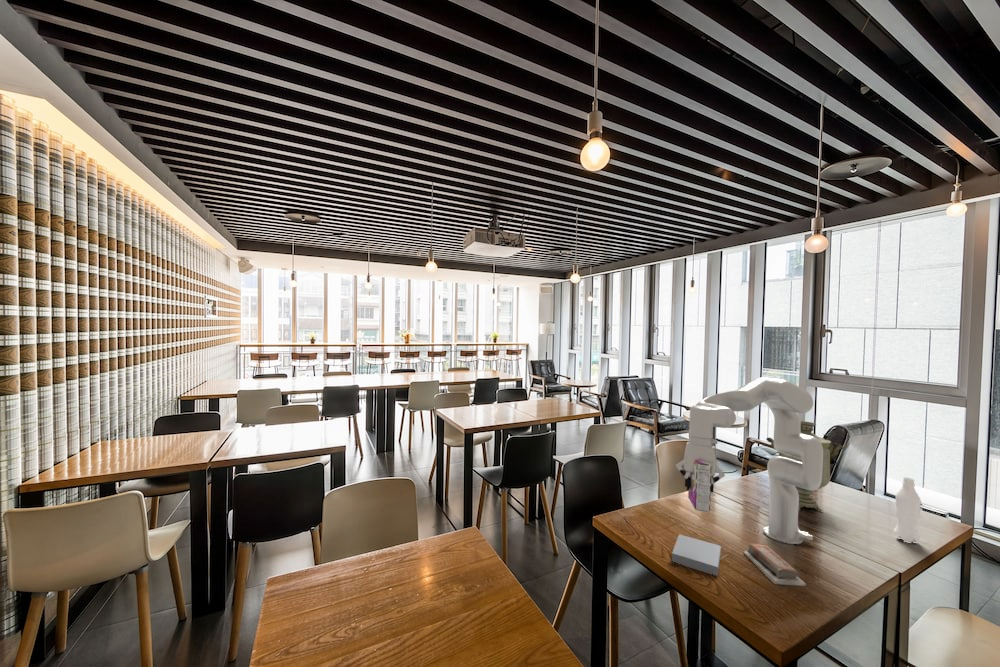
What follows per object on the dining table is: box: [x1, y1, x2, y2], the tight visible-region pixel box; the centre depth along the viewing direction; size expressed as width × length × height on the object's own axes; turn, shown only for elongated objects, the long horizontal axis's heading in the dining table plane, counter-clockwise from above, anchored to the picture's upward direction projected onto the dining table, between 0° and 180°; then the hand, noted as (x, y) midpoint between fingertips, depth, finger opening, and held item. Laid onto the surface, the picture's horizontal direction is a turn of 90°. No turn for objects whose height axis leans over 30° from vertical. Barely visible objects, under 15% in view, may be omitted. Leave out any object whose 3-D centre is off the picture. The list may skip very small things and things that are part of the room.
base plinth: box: [671, 533, 722, 577], centre depth 139 cm, size 14×16×3 cm
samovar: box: [765, 420, 845, 512], centre depth 185 cm, size 30×26×40 cm
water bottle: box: [893, 476, 922, 543], centre depth 157 cm, size 7×7×25 cm
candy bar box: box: [687, 460, 712, 513], centre depth 139 cm, size 11×5×16 cm, turn 166°
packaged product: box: [743, 543, 807, 587], centre depth 134 cm, size 18×5×10 cm
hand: (698, 491), depth 139 cm, fingers closed on candy bar box, 6 cm apart
